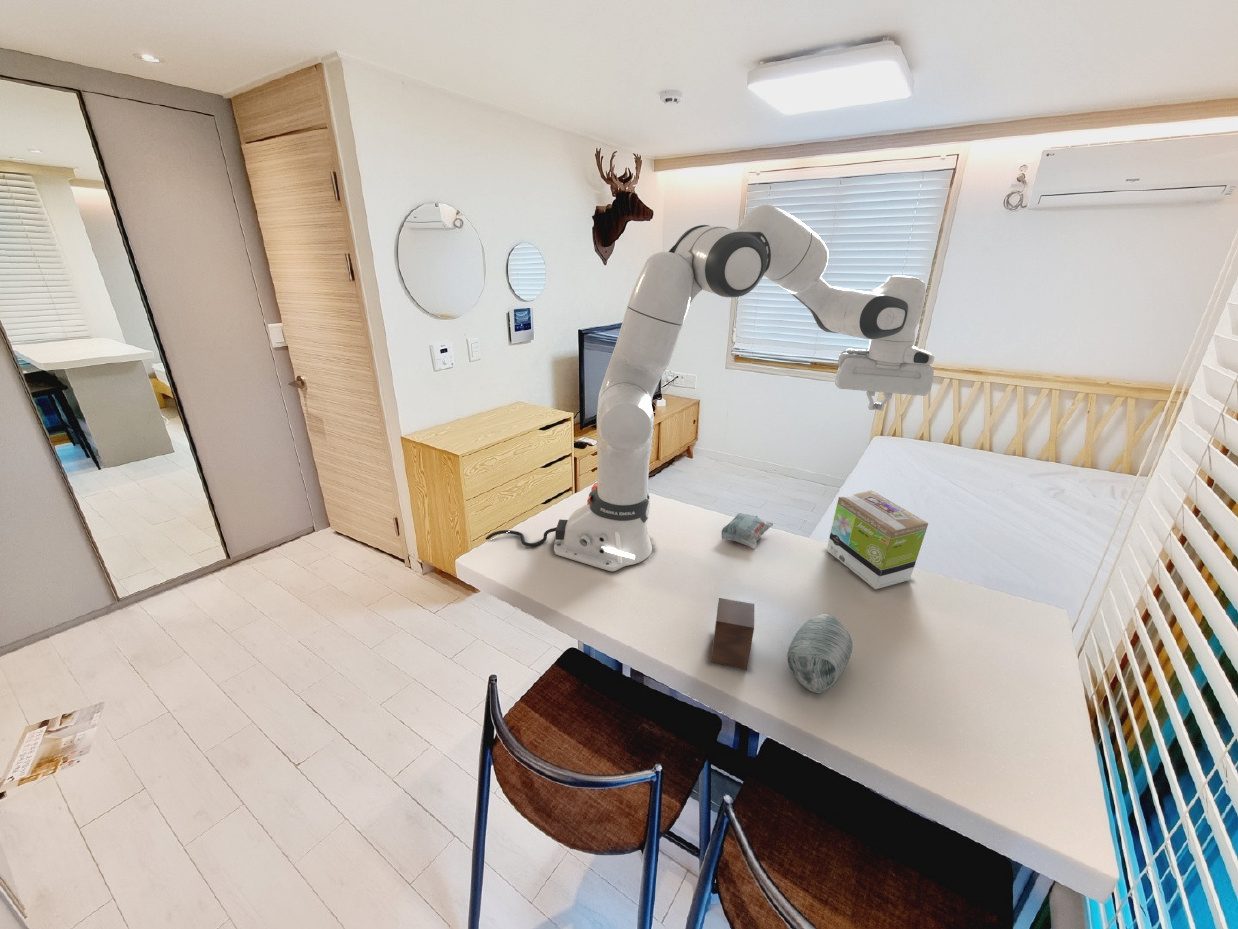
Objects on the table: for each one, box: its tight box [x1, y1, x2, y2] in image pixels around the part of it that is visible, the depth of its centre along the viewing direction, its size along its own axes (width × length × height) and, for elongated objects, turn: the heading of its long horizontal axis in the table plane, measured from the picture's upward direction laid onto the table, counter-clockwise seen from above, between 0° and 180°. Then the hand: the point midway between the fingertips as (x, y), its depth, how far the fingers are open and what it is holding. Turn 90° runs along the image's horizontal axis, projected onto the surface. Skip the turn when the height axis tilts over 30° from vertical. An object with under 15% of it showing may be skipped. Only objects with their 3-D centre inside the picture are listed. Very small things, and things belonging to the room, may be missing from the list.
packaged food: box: [721, 512, 774, 550], centre depth 119 cm, size 9×12×5 cm
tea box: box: [826, 489, 929, 590], centre depth 108 cm, size 15×10×15 cm
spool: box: [786, 613, 854, 694], centre depth 83 cm, size 14×10×10 cm
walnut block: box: [710, 597, 755, 670], centre depth 85 cm, size 6×6×9 cm
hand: (875, 409), depth 120 cm, fingers closed
